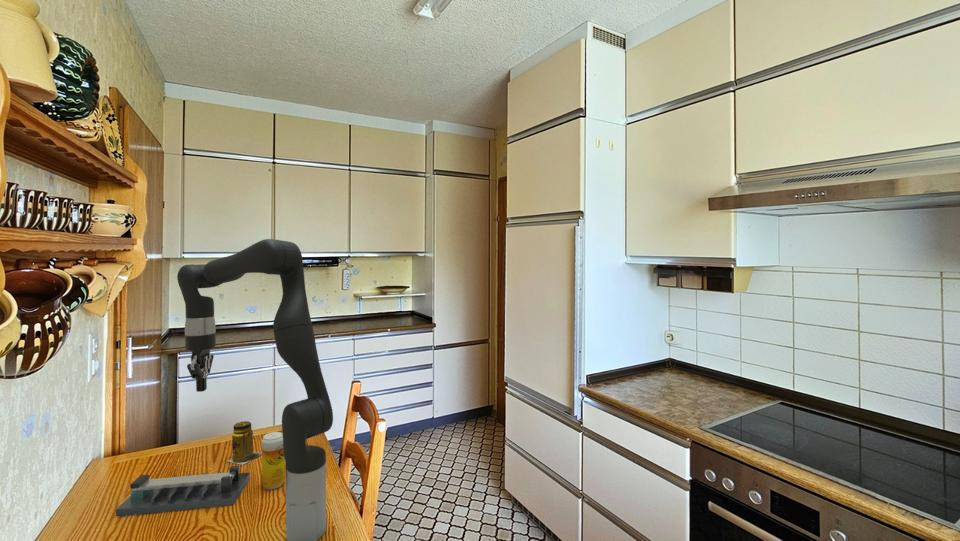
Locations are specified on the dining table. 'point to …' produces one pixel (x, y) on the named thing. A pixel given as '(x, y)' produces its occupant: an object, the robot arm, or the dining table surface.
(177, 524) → the dining table surface
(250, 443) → the condiment
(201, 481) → the bar
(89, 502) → the dining table surface
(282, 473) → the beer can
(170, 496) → the clamp base
